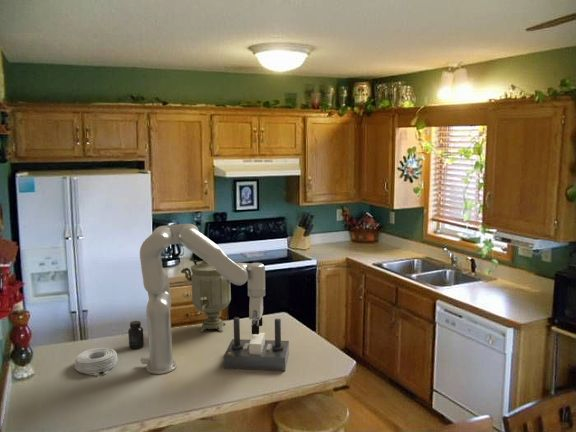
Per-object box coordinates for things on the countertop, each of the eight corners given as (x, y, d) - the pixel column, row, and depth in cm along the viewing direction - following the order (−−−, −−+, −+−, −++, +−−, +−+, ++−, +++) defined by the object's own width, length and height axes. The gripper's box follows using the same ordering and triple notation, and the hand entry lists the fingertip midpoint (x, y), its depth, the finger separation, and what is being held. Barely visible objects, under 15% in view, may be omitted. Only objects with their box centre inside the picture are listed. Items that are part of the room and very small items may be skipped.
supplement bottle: (147, 345, 251) (146, 321, 249) (136, 351, 245) (134, 326, 243) (137, 342, 254) (135, 318, 253) (125, 347, 249) (124, 323, 247)
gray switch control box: (224, 368, 226) (223, 353, 225) (232, 351, 244) (232, 337, 243) (285, 371, 224) (285, 355, 222) (289, 353, 241) (288, 339, 240)
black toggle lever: (271, 350, 230) (271, 321, 228) (273, 346, 234) (272, 317, 232) (282, 351, 229) (282, 321, 227) (283, 346, 234) (283, 317, 232)
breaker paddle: (249, 359, 227) (249, 343, 226) (254, 347, 240) (253, 332, 239) (261, 359, 226) (260, 344, 225) (265, 347, 239) (265, 332, 238)
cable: (103, 378, 219) (102, 364, 218) (65, 374, 223) (64, 360, 222) (125, 360, 236) (124, 347, 235) (90, 357, 240) (89, 344, 239)
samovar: (169, 334, 264) (166, 256, 258) (198, 317, 288) (195, 245, 282) (222, 343, 253) (219, 261, 247) (247, 325, 277) (245, 249, 271)
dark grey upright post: (230, 349, 231) (229, 320, 229) (232, 345, 236) (232, 316, 234) (241, 349, 231) (240, 320, 229) (243, 345, 236) (242, 316, 234)
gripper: (251, 285, 237) (251, 322, 240) (244, 297, 220) (245, 337, 223) (267, 286, 237) (268, 323, 239) (262, 298, 220) (263, 337, 222)
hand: (257, 329), depth 231 cm, fingers open, 9 cm apart
